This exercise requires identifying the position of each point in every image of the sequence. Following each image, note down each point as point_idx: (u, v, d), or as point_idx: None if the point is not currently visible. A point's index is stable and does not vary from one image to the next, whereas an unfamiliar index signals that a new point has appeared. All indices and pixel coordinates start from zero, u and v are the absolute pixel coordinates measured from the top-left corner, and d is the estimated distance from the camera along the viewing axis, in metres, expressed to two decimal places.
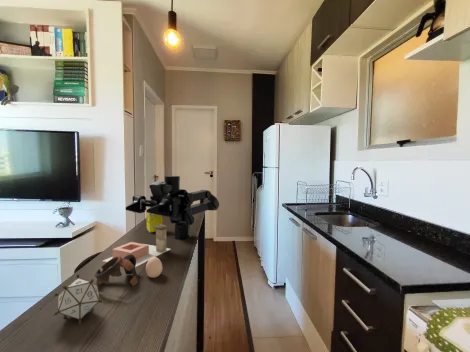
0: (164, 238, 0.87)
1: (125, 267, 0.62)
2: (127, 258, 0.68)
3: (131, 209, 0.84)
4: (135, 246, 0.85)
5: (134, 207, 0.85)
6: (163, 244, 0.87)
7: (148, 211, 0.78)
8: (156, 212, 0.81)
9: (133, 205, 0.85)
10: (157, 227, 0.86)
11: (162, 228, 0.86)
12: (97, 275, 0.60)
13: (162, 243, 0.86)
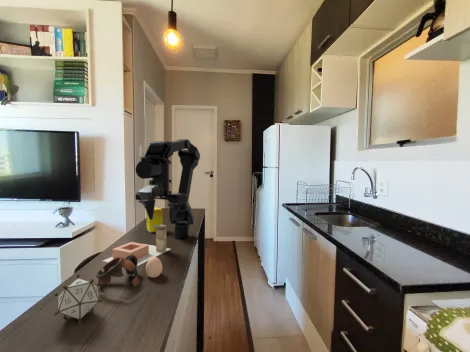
0: (164, 238, 0.87)
1: (127, 267, 0.62)
2: (128, 258, 0.67)
3: (152, 213, 0.89)
4: (135, 246, 0.85)
5: (151, 209, 0.89)
6: (163, 244, 0.87)
7: (172, 221, 0.85)
8: (175, 213, 0.85)
9: (149, 210, 0.88)
10: (157, 227, 0.86)
11: (162, 228, 0.86)
12: (99, 276, 0.60)
13: (162, 243, 0.86)
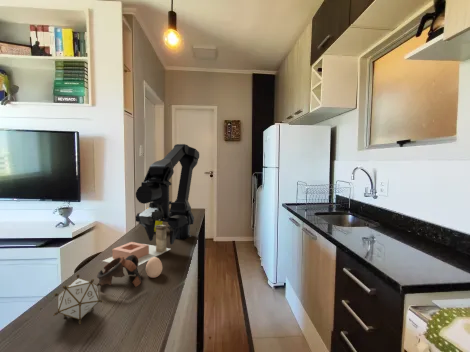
0: (164, 238, 0.87)
1: (128, 268, 0.62)
2: (129, 259, 0.67)
3: (152, 234, 0.90)
4: (135, 246, 0.85)
5: (151, 230, 0.89)
6: (163, 244, 0.87)
7: (172, 243, 0.86)
8: (175, 235, 0.86)
9: (150, 232, 0.88)
10: (157, 227, 0.86)
11: (162, 228, 0.86)
12: (100, 276, 0.60)
13: (162, 243, 0.86)
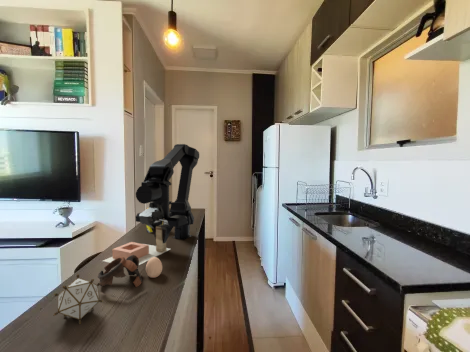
0: None
1: (128, 268, 0.62)
2: (130, 259, 0.67)
3: None
4: (135, 246, 0.85)
5: None
6: (163, 244, 0.87)
7: (165, 242, 0.87)
8: (168, 234, 0.87)
9: None
10: (157, 227, 0.86)
11: None
12: (100, 276, 0.60)
13: (162, 243, 0.86)
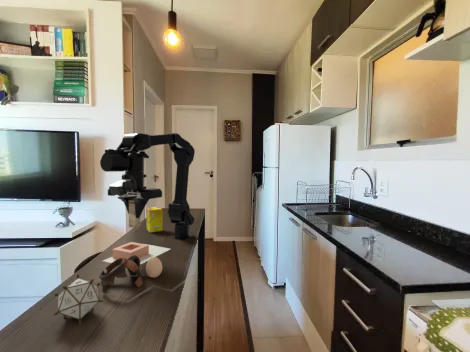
0: None
1: (130, 268, 0.62)
2: (131, 259, 0.67)
3: None
4: (135, 246, 0.85)
5: None
6: (137, 219, 0.81)
7: (138, 217, 0.82)
8: (142, 209, 0.82)
9: None
10: (130, 201, 0.81)
11: None
12: (102, 277, 0.59)
13: (136, 218, 0.81)
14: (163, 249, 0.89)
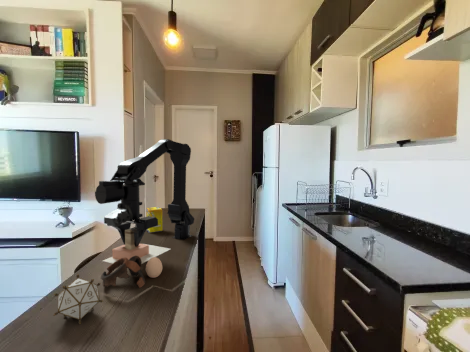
0: None
1: (132, 269, 0.61)
2: (133, 259, 0.67)
3: None
4: None
5: None
6: (133, 248, 0.82)
7: (137, 245, 0.81)
8: (141, 237, 0.82)
9: (124, 235, 0.83)
10: (126, 231, 0.81)
11: (131, 232, 0.81)
12: (104, 277, 0.59)
13: (132, 248, 0.81)
14: (163, 249, 0.89)
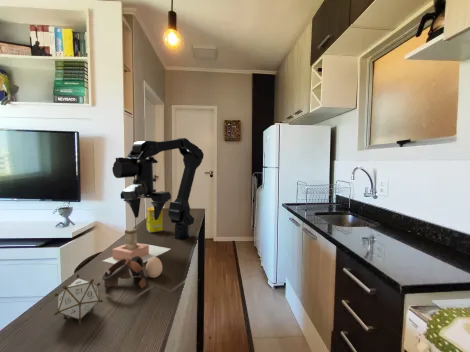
0: (134, 242, 0.82)
1: (134, 269, 0.61)
2: (134, 260, 0.66)
3: (138, 211, 0.91)
4: None
5: (136, 207, 0.91)
6: (133, 248, 0.82)
7: (157, 218, 0.87)
8: (160, 211, 0.88)
9: (135, 209, 0.90)
10: (126, 231, 0.81)
11: (131, 232, 0.81)
12: (105, 278, 0.59)
13: (132, 248, 0.81)
14: (163, 249, 0.89)
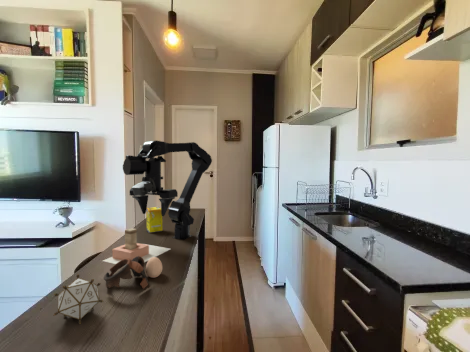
0: (134, 242, 0.82)
1: (135, 269, 0.61)
2: (135, 260, 0.66)
3: (145, 207, 0.95)
4: None
5: (144, 204, 0.95)
6: (133, 248, 0.82)
7: (163, 215, 0.91)
8: (167, 207, 0.92)
9: (143, 205, 0.94)
10: (126, 231, 0.81)
11: (131, 232, 0.81)
12: (107, 278, 0.59)
13: (132, 248, 0.81)
14: (163, 249, 0.89)
